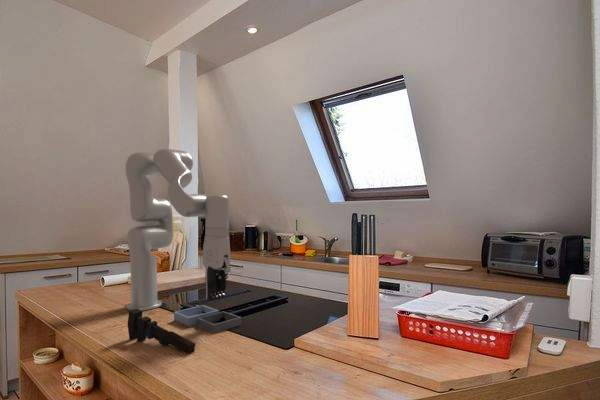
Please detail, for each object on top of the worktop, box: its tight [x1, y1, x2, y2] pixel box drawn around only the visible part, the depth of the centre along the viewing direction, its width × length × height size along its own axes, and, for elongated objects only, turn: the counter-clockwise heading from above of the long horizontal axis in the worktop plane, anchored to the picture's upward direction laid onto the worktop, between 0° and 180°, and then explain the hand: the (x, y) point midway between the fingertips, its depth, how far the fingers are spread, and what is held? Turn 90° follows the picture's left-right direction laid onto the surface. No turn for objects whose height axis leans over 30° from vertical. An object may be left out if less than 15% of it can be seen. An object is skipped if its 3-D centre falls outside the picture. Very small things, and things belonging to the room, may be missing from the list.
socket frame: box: [196, 311, 243, 334], centre depth 120 cm, size 10×10×2 cm
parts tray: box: [173, 304, 220, 328], centre depth 126 cm, size 10×11×3 cm
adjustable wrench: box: [127, 308, 196, 355], centre depth 104 cm, size 8×3×25 cm
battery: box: [204, 266, 229, 301], centre depth 120 cm, size 7×4×11 cm, turn 140°
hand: (216, 288), depth 120 cm, fingers closed on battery, 4 cm apart
